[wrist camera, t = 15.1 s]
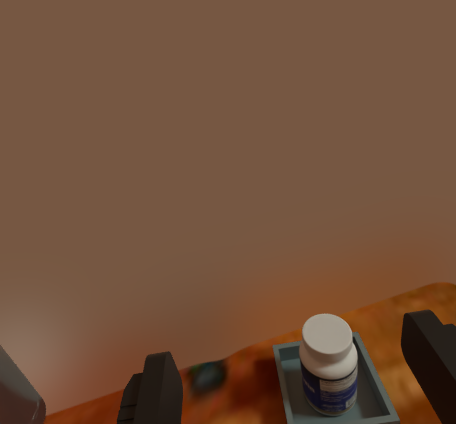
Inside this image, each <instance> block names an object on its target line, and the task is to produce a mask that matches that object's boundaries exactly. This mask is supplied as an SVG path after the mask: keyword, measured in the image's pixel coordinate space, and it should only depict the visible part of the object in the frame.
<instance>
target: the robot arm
mask: <svg viewBox="0 0 456 424" xmlns="http://www.w3.org/2000/svg"><path fill="white" fill-rule="evenodd" d="M401 348H402V352H403V355H404V358H405V360H406V362H407V364H408V366H409V367H410V369H411V371H412V373H413V374H414V376H415V378H416V379H417V381H418V383H419V385H420V386H421V388H422V390H423V392H424V393H425V395H426V397H427V398H428V400H429V402H430V404H431V405H432V407H433V409H434V410H435V412H436V414H437V416H438V417H439V419H440V421H441V423H442V424H456V326H455V325H453V324H447V325H443V324H442V323H441V322H440V320H439V319H438V318H437V316H436V315H435V314H434V313H433V312H432V311H431V310H423V311H417V312H410V313H405V314H404V318H403V327H402V337H401ZM182 401H183V387H182V380H181V377H180V374H179V372H178V369H177V367H176V365H175V362H174V360H173V357H172V355H171V353H170V352H169V351H168V352H162V353H156V354H150V355H148V356H147V357H146V360H145V365H144V370H143V373H138V374H134V375H133V376H132V378H131V379H130V381H129V383H128V384H127V386H126V388H125V389H124V392H123V397H122V401H121V405H120V410H119V414H118V418H117V424H181V414H182ZM45 414H46V406H45V402H44V400H43V399H42V397H41V396H40V395H39V394H38V392H37V391H36V390H35V389H34V387H33V386H32V385H31V384H30V382H29V381H28V379H27V378H26V377H25V376H24V374H23V373H22V372H21V371H20V369H19V368H18V367H17V365H16V364H15V363H14V362H13V360H12V359H11V358H10V357H9V355H8V354H7V353H6V352H5V350H4V349H3V348H2V346H1V345H0V424H43V422H44V419H45Z"/></svg>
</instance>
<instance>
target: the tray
mask: <svg viewBox="0 0 456 424" xmlns="http://www.w3.org/2000/svg"><path fill="white" fill-rule="evenodd" d="M352 340H353V344H354V345H355V347H356V350H357V357H358V363H357V397H356V401H355V404H354V406H353V407H352V408H351V409H350V410H349V411H348V412H347V413H345V414H342V415H339V416H329V415H325V414H322V413H320V412H318V411H316V410H315V409H314V408H313V407H312V406H311V405H310V404H309V403H308V401H307V399H306V397H305V395H304V391H303V383H302V374H301V365H300V357H299V347H300V343H301V341H297V342H291V343H285V344H279V345H273V351H274V356H275V362H276V367H277V372H278V377H279V382H280V388H281V393H282V398H283V403H284V408H285V414H286V419H287V424H400V419H399V417H398V415H397V413H396V411H395V409H394V407H393V405H392V403H391V400H390V398H389V396H388V394H387V392H386V390H385V388H384V386H383V384H382V382H381V380H380V377H379V375H378V373H377V371H376V369H375V367H374V365H373V363H372V361H371V359H370V357H369V354H368V352H367V350H366V348H365V346H364V344H363V342H362V340H361V338H360V336H359V334H358V332H352Z"/></svg>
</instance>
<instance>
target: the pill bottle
mask: <svg viewBox="0 0 456 424" xmlns="http://www.w3.org/2000/svg"><path fill="white" fill-rule="evenodd" d="M299 357H300V365H301V374H302V383H303V391H304V395H305V397H306V399H307V401H308V403H309V404H310V405H311V406H312V407H313V408H314V409H315V410H316V411H318V412H320V413H322V414H325V415H329V416H339V415H342V414H345V413H347V412H348V411H349V410H350V409H351V408H352V407H353V406H354V404H355V401H356V397H357V363H358V357H357V350H356V347H355V345H354V344H353V340H352V331H351V329H350V327H349V325H348V324H347V323H346V322H345V321H344V320H343V319H341V318H340V317H337V316H335V315H331V314H319V315H315V316H313V317H311V318H309V319H308V320H307V321H306V322H305V324H304V326H303V329H302V341H301V343H300V347H299Z"/></svg>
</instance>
